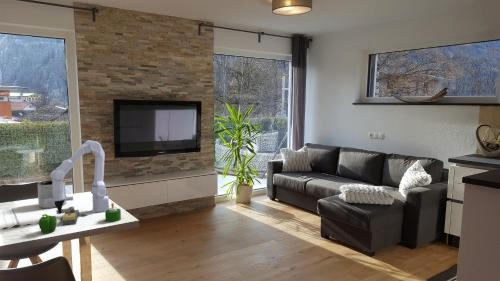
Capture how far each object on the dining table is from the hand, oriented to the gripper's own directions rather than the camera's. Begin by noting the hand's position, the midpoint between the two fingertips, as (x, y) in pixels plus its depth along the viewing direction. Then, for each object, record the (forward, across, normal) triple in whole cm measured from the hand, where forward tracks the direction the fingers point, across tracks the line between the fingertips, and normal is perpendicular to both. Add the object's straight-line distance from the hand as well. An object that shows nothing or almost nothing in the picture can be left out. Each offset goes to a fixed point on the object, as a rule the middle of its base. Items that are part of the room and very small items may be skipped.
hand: (60, 213), depth 212 cm
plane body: (+3, -6, +3) cm, 7 cm away
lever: (0, -3, -3) cm, 4 cm away
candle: (+4, -29, +13) cm, 32 cm away
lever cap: (+1, -6, +9) cm, 11 cm away
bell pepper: (+3, +3, +21) cm, 21 cm away
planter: (+3, +8, -33) cm, 34 cm away
